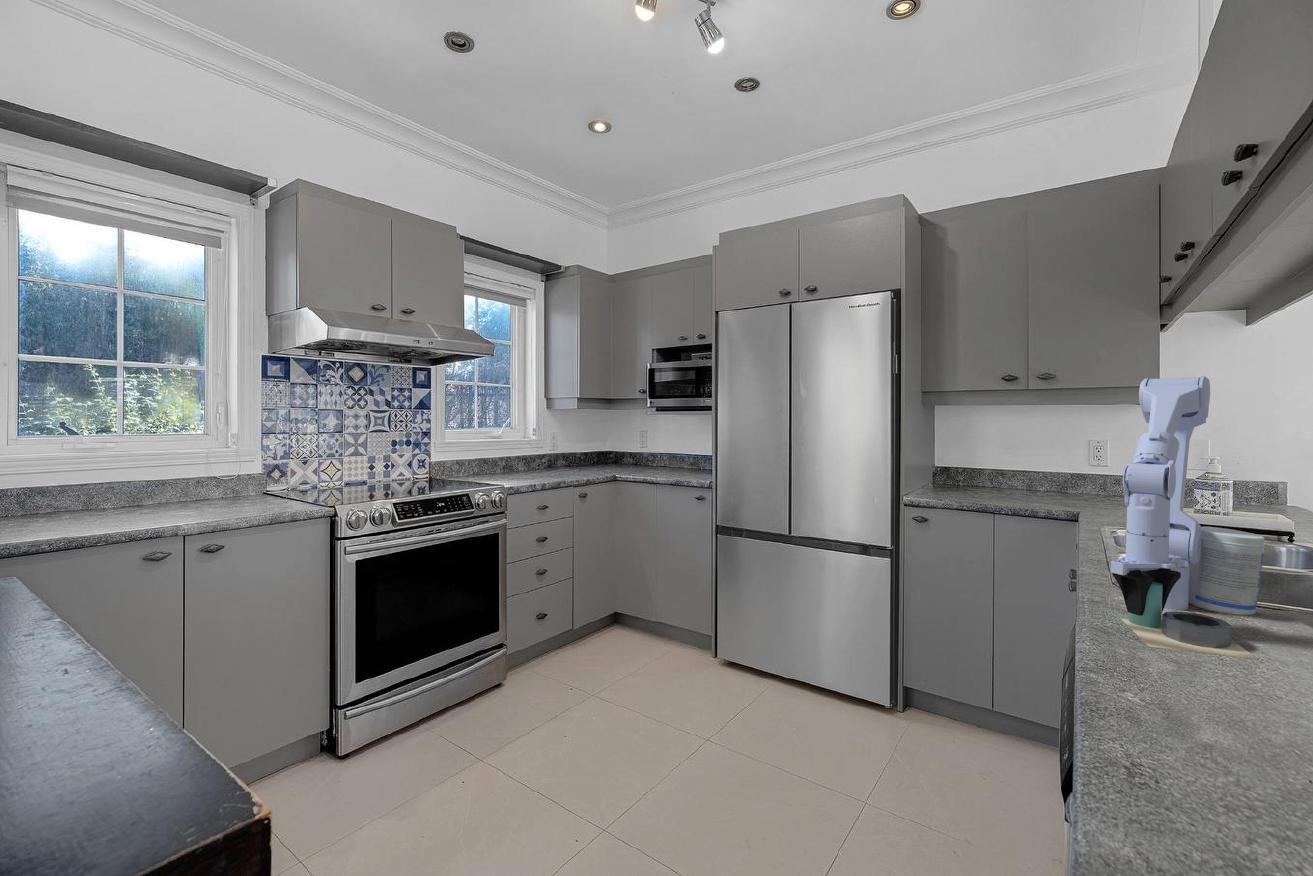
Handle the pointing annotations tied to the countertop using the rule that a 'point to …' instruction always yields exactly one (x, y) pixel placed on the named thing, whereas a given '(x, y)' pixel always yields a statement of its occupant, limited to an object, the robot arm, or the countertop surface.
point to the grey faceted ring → (1196, 629)
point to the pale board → (1159, 640)
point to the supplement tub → (1227, 571)
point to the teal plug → (1150, 608)
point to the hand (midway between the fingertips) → (1144, 612)
